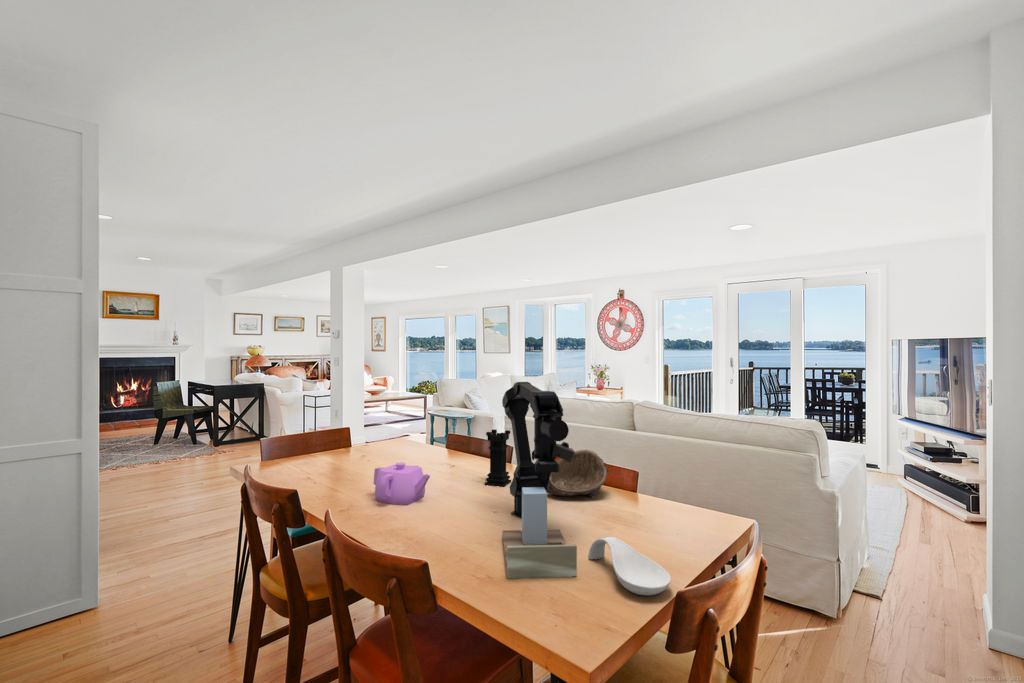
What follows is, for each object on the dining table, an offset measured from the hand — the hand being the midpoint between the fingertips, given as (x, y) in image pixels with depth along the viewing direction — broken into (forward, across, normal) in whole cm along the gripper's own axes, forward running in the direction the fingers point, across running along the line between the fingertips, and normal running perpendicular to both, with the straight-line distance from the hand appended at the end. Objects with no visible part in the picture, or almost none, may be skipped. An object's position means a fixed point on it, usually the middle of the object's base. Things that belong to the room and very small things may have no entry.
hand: (544, 490), depth 142 cm
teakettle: (+11, +32, +47) cm, 58 cm away
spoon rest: (+13, -27, -16) cm, 34 cm away
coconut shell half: (+12, +35, -16) cm, 40 cm away
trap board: (+12, -15, +4) cm, 20 cm away
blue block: (+10, -10, +4) cm, 15 cm away
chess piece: (+11, +50, +14) cm, 54 cm away
